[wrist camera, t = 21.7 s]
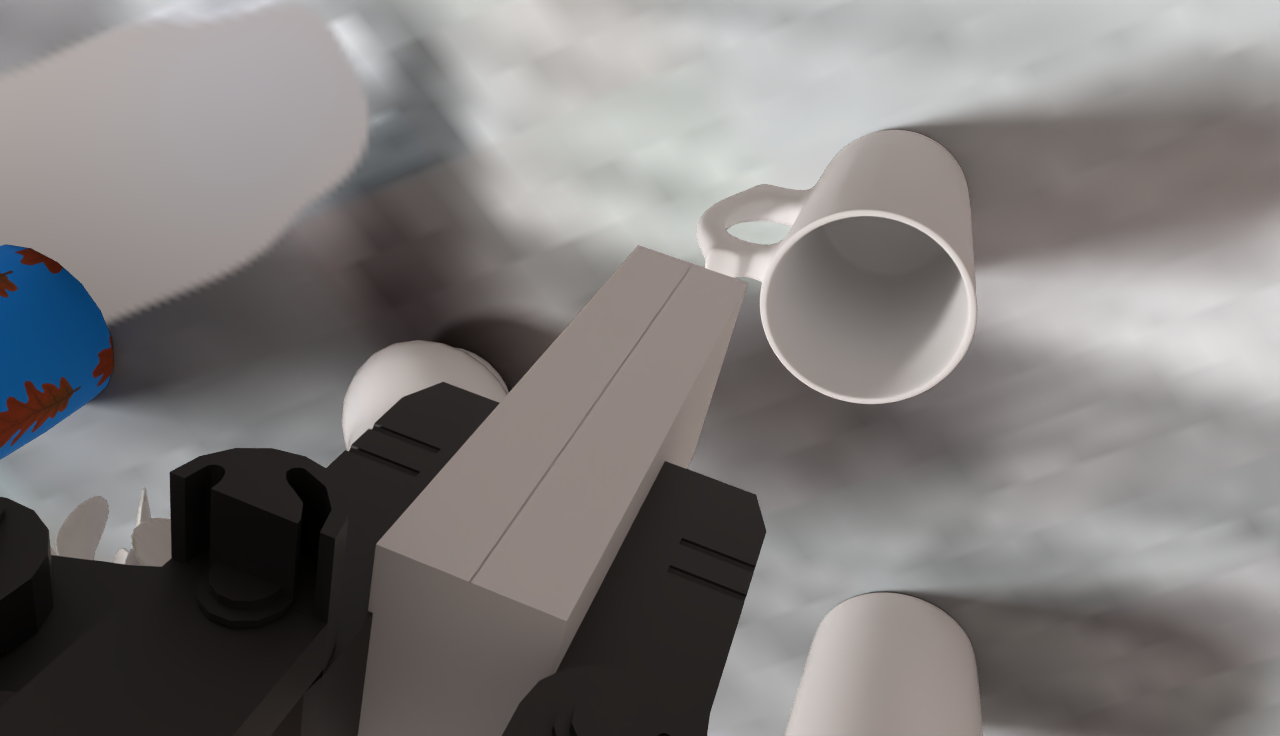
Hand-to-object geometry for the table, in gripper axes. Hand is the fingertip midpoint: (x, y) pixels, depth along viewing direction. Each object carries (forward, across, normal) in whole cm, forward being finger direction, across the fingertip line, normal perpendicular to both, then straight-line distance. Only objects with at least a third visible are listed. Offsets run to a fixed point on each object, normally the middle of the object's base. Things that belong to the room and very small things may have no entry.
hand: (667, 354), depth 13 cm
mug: (+31, -2, +6) cm, 31 cm away
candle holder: (+31, -12, +29) cm, 44 cm away
